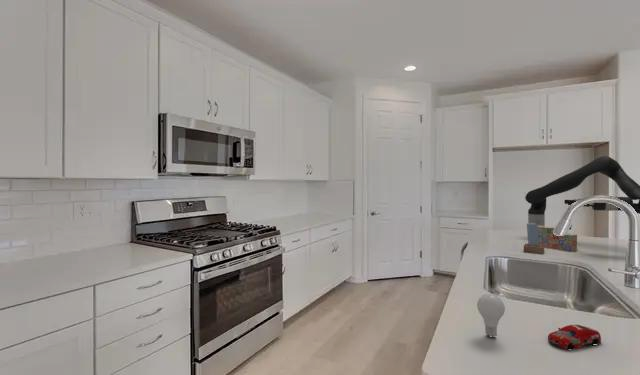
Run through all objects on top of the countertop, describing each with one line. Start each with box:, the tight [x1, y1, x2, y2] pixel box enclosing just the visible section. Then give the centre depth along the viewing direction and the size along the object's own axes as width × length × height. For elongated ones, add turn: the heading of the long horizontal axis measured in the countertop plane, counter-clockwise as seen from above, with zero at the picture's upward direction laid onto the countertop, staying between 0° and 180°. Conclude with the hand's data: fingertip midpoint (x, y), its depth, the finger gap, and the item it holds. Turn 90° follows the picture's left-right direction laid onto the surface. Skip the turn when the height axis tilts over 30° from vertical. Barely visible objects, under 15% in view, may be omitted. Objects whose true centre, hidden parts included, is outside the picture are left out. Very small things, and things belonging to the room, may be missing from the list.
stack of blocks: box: [538, 225, 578, 253], centre depth 191 cm, size 21×6×12 cm, turn 26°
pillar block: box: [526, 223, 539, 246], centre depth 181 cm, size 4×4×12 cm
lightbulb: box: [476, 293, 506, 337], centre depth 84 cm, size 6×6×11 cm
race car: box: [547, 324, 602, 350], centre depth 80 cm, size 13×5×4 cm, turn 103°
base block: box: [523, 243, 545, 255], centre depth 181 cm, size 9×9×4 cm
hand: (566, 202), depth 175 cm, fingers open, 8 cm apart
